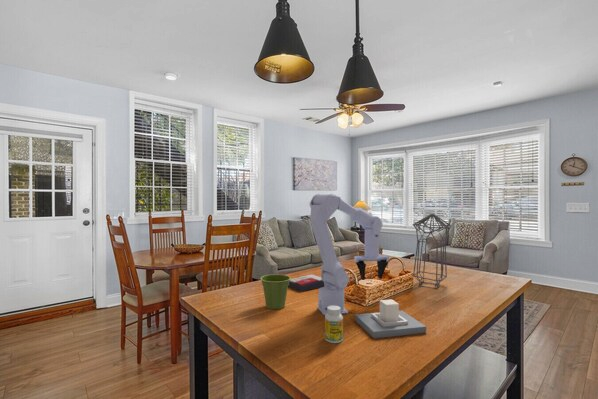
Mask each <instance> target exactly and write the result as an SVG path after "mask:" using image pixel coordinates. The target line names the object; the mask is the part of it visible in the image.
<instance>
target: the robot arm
mask: <svg viewBox="0 0 598 399" xmlns="http://www.w3.org/2000/svg"><path fill="white" fill-rule="evenodd" d="M309 206H310V216H309V221H310V225H311V229H312V231H313V235H314V238H315V242H316V244H317V249H318V250H319V253H320V254H319V255H320V257H321V261H322V263H323V264H322V265H321V266H320V271H321V275H320V277H321V278H322V281H323V282H324V285H325V287H321V288H318V293H317V294H318V295H317V297H318V298H317V299H318V301H317V305H318V306H317V309H318V310H319V311H320V312H321V313H322V315H323V316H325V315H326V314H327V313H328V312H327V307H328V306H332V305H334V306H339V307H340V308H341V312H340V314H341V315H343V314H349V311H348V310H347V309H346V308H345V289H346V287H347V286H348V284H349V279H350V277H349V275H348V273H347V272H346V270H345V269H344V266H343V265H342V264H341V262H339V260H338V257H337V254H336V250H335V248H334V247H335V246H334V243H333V240H332V236H331V233H330V230H329V227H328V220H329V219H330V217H332V216H333V214H335V212H336V211H337V210H338V211H340V212H342V213H344V214H346V215H348V216H350V219H351V221H353V222H355V223H356V224H358V225H360V226H361V227H362V229H363V230H364V255H358V256H356V255H355V256H353V257H354V258H353V259H354V260H353V262H355V264H356V266H357V269H358V271H359V275H360V279H361V280H362V281H365V280H366V279H365V278H366V268H367V267H366V266H367V264H366V263H365V262H376V264H377V278H378V279H380V280H382V279H383V276H384V272H385V270H386V268H387V266H388V265H389V261H390V255H387V254H386V255H385V254H383V255H382V254H380V234H381V229H382V227H383V223H382V220H381V218H380V217H379V216H376V215H375V216H374V215H373V214H372V212H368V211H366V210H365V208H364V207H353V205H351V204H350V203H348V202H346V201H345V200H343V199H342V198H341V197H340V196H338V195H336V194H334V193H330V194H324V193H323V194H320V193H317V194H314V195H313V196H312V198H311V200H310V201H309Z"/></svg>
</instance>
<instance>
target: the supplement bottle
mask: <svg viewBox="0 0 598 399" xmlns="http://www.w3.org/2000/svg"><path fill="white" fill-rule="evenodd" d="M327 312H328V313H327V314H326V315H324V338H325V341H326V342H328V343H330V344H338V343H341V342H342V341H343V340H344V325H343V324H344V317H343V314H340V312H341V308H340V307H339V306H334V305H332V306H328V307H327Z"/></svg>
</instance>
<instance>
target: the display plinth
mask: <svg viewBox="0 0 598 399" xmlns="http://www.w3.org/2000/svg"><path fill="white" fill-rule="evenodd" d="M354 321H355V322H356V323H357V324H358V325H360V327H361V328H362V329H364V331H366V332H367V333H368V334H369V335H370V336H371V337H372V338H373V339H380V338H381V339H383V338H390V337H391V338H392V337H400V336H409V335H420V334H427V325H425V324H423V323H422V322H421V321H418V320H417V319H415V318H414V317H413V316H411V315H409V314H408V313H407V312H405V311H403V310H399V321H394V322H384V321H383V320H381V319H380V311H379V312H367V313H358V314H354Z"/></svg>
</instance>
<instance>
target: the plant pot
mask: <svg viewBox="0 0 598 399" xmlns="http://www.w3.org/2000/svg"><path fill="white" fill-rule="evenodd" d="M259 278H260V279H259V280H260V281H261V285H262V287H263V294H264V301H265V308H267V309H270V310H275V311H277V310H281V309H283V308H284V307H285V306H286V302H287V301H286V300H287V294H288V285H289V280H290V279H292V277H291V276H290V275H286V274H277V273H276V274H275V273H273V274H265V275H262V276H261V277H259Z"/></svg>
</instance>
